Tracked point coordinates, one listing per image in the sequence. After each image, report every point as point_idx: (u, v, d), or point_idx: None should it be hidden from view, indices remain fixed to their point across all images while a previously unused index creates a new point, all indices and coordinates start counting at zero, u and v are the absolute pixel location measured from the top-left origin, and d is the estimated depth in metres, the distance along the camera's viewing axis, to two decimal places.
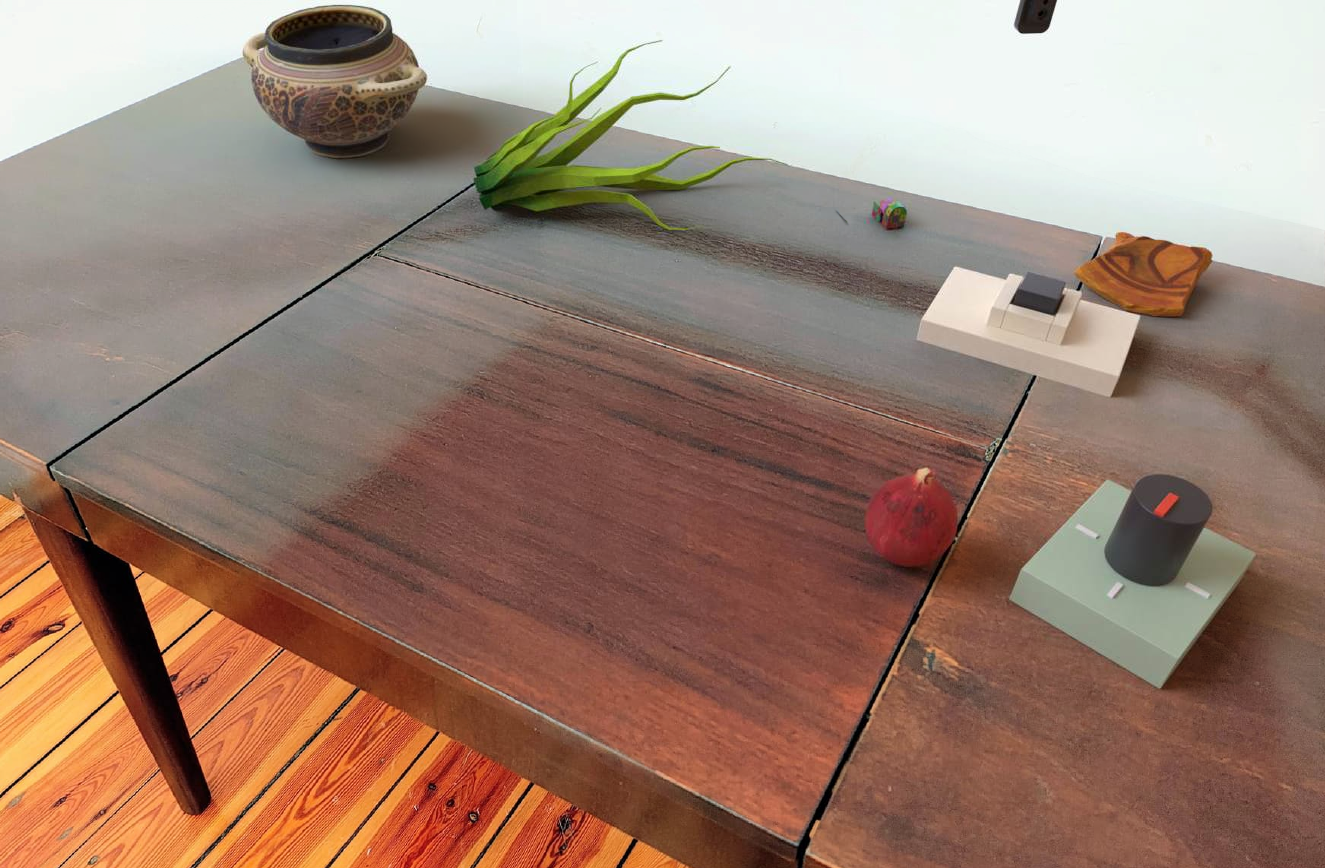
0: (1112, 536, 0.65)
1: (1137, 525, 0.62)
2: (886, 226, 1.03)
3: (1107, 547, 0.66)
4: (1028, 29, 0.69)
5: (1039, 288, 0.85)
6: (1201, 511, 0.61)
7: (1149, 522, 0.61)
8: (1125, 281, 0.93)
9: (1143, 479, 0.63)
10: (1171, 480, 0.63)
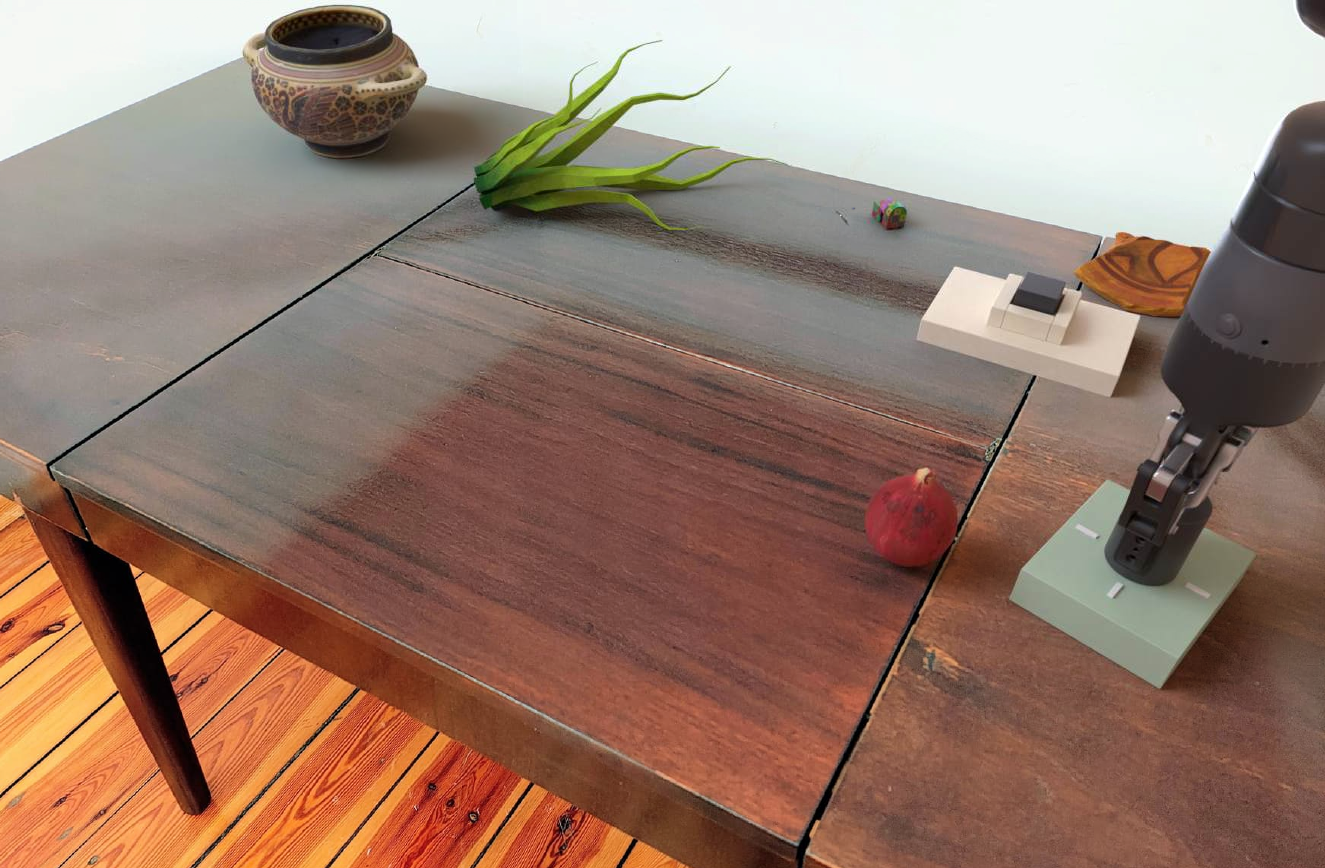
0: (1112, 536, 0.65)
1: None
2: (886, 226, 1.03)
3: (1107, 547, 0.66)
4: None
5: (1039, 288, 0.85)
6: (1201, 511, 0.61)
7: None
8: (1125, 281, 0.93)
9: None
10: None
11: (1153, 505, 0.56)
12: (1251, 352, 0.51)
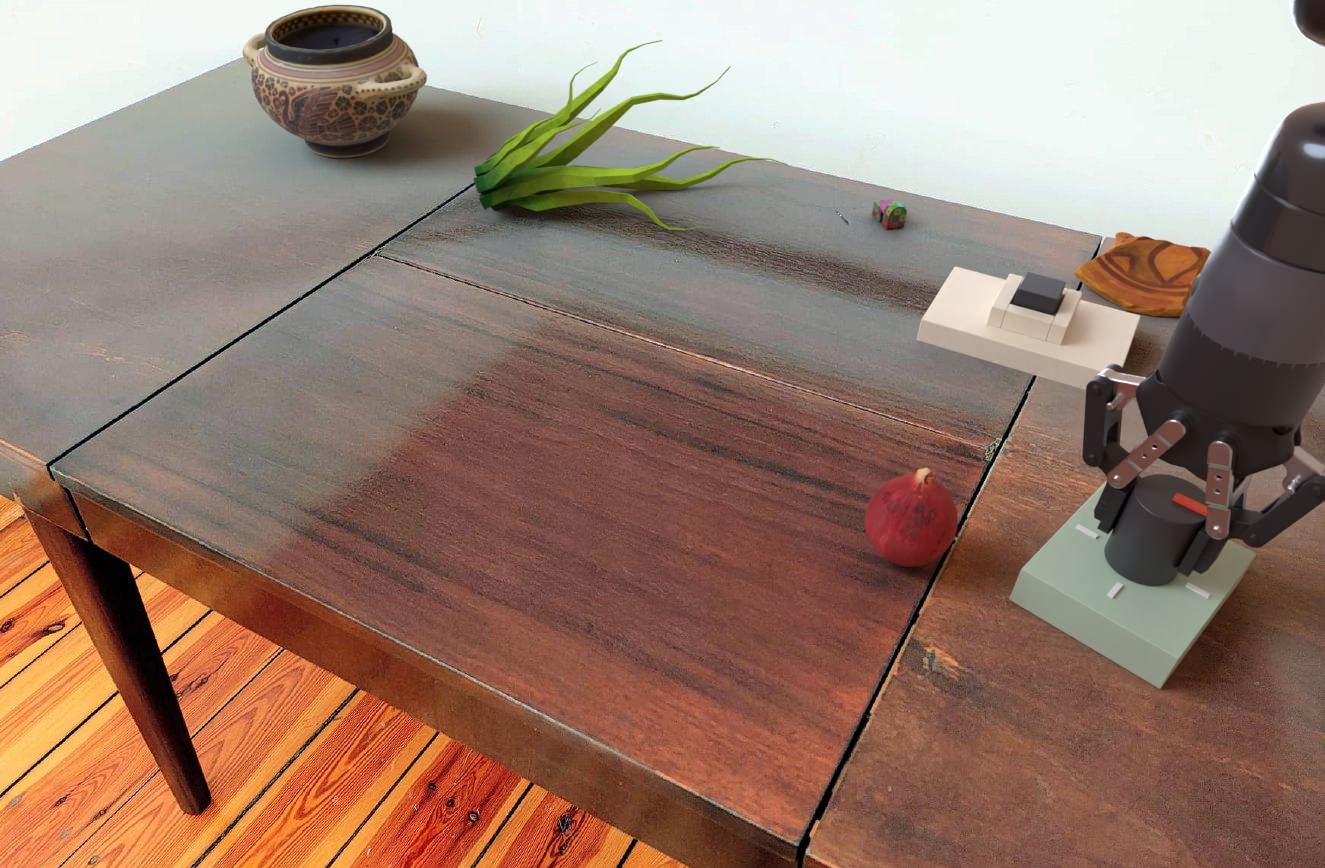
0: (1155, 568, 0.63)
1: (1194, 537, 0.61)
2: (886, 226, 1.03)
3: (1150, 578, 0.64)
4: (1193, 570, 0.63)
5: (1039, 288, 0.85)
6: (1183, 484, 0.63)
7: None
8: (1125, 281, 0.93)
9: (1153, 511, 0.61)
10: (1144, 492, 0.62)
11: None
12: None
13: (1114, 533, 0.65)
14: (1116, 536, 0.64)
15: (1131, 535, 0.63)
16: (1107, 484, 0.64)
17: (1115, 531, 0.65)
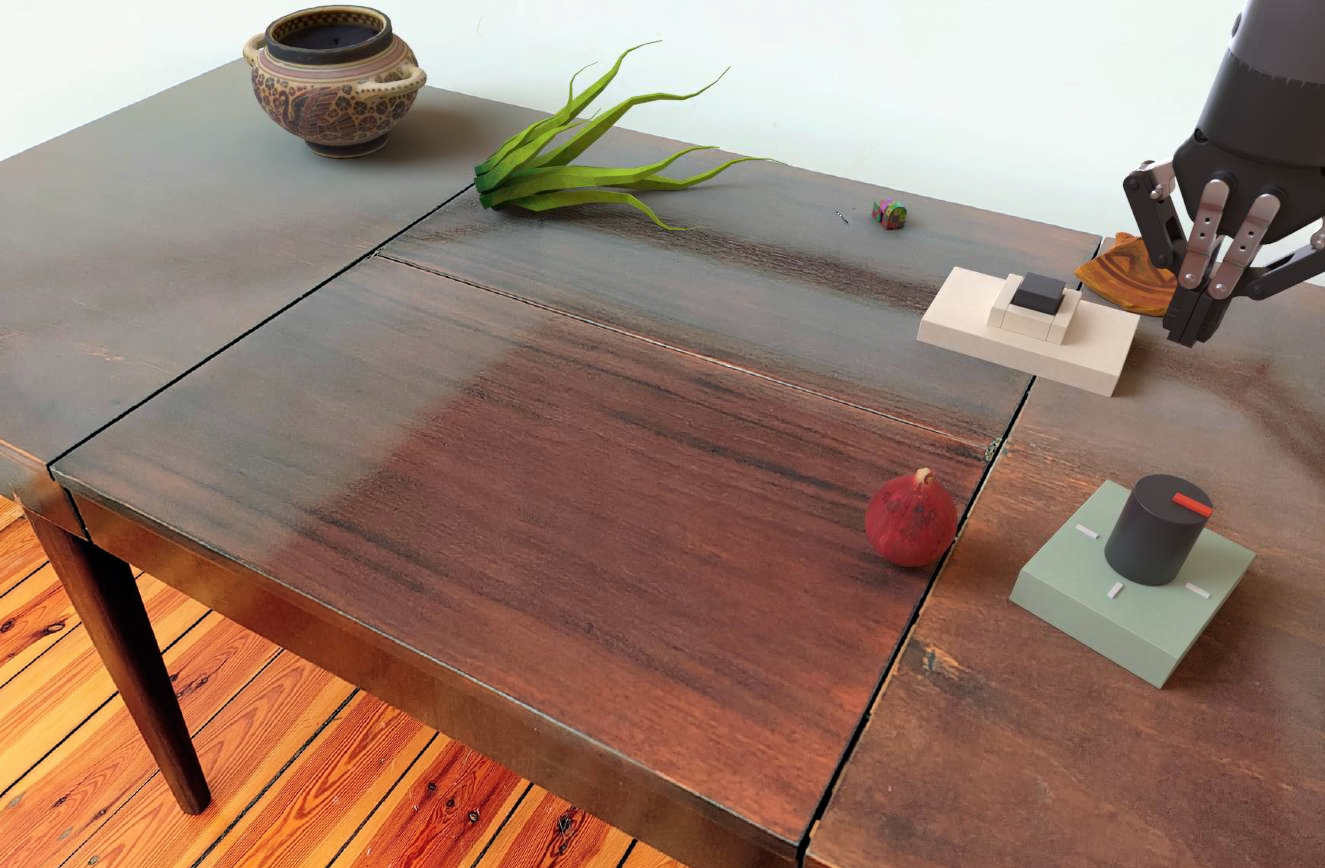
0: (1155, 568, 0.63)
1: (1194, 537, 0.61)
2: (886, 226, 1.03)
3: (1150, 578, 0.64)
4: (1195, 341, 0.62)
5: (1039, 288, 0.85)
6: (1183, 484, 0.63)
7: (1204, 525, 0.61)
8: (1125, 281, 0.93)
9: (1153, 511, 0.61)
10: (1144, 492, 0.62)
11: None
12: None
13: (1114, 533, 0.65)
14: (1116, 536, 0.64)
15: (1131, 535, 0.63)
16: (1177, 287, 0.61)
17: (1115, 531, 0.65)
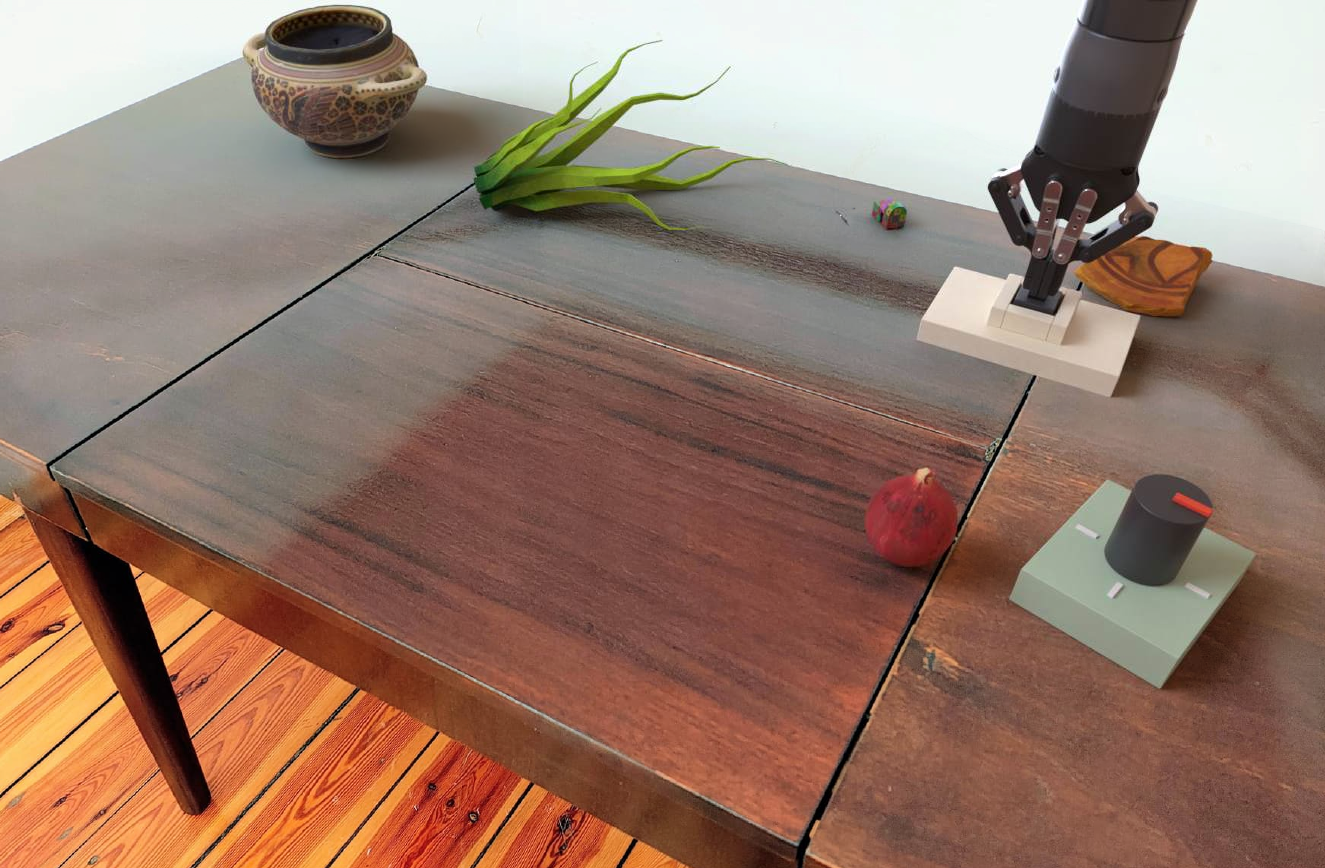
0: (1155, 568, 0.63)
1: (1194, 537, 0.61)
2: (886, 226, 1.03)
3: (1150, 578, 0.64)
4: None
5: None
6: (1183, 484, 0.63)
7: (1204, 525, 0.61)
8: (1125, 281, 0.93)
9: (1153, 511, 0.61)
10: (1144, 492, 0.62)
11: None
12: None
13: (1114, 533, 0.65)
14: (1116, 536, 0.64)
15: (1131, 535, 0.63)
16: (1031, 258, 0.84)
17: (1115, 531, 0.65)
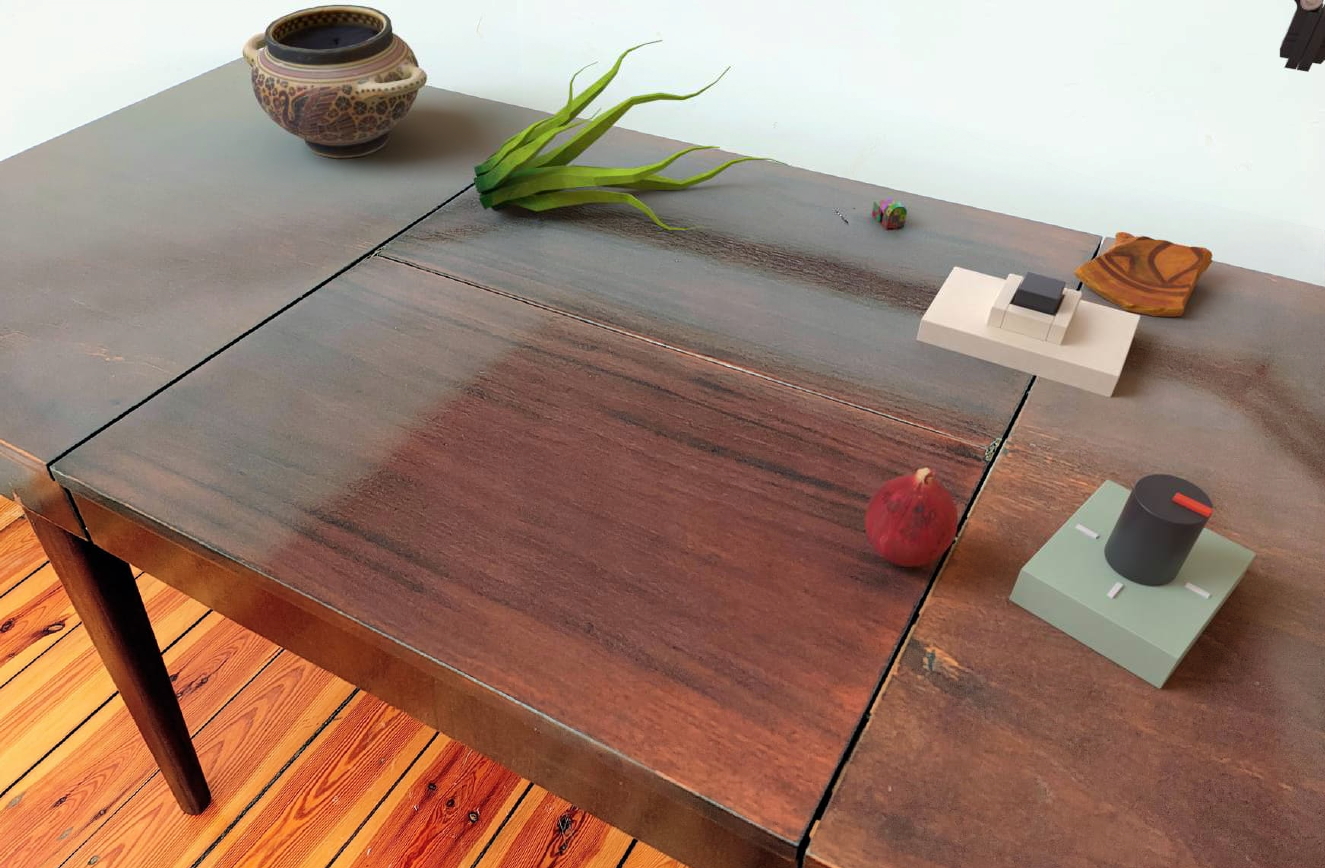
0: (1155, 568, 0.63)
1: (1194, 537, 0.61)
2: (886, 226, 1.03)
3: (1150, 578, 0.64)
4: None
5: (1039, 288, 0.85)
6: (1183, 484, 0.63)
7: (1204, 525, 0.61)
8: (1125, 281, 0.93)
9: (1153, 511, 0.61)
10: (1144, 492, 0.62)
11: None
12: None
13: (1114, 533, 0.65)
14: (1116, 536, 0.64)
15: (1131, 535, 0.63)
16: (1297, 12, 0.67)
17: (1115, 531, 0.65)
